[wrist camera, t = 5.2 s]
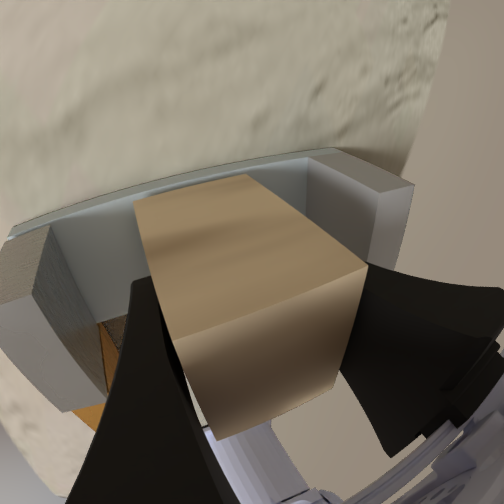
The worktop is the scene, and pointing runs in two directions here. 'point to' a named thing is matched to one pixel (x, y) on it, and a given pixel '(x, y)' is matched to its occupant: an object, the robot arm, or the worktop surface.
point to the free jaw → (53, 327)
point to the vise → (261, 169)
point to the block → (249, 298)
